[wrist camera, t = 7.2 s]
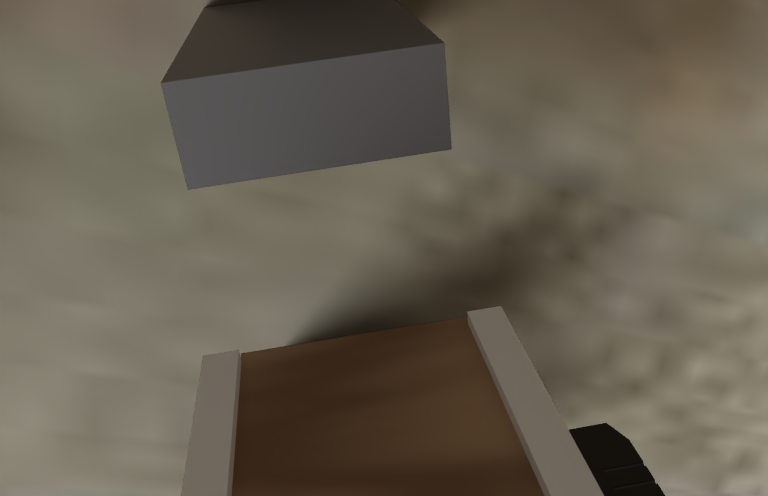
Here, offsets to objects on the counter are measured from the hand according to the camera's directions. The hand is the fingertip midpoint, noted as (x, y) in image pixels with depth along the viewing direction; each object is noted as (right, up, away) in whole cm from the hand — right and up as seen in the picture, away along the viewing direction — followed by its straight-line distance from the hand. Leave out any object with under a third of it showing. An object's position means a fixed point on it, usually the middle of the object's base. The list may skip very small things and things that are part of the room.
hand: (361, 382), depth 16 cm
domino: (-2, +9, +5) cm, 11 cm away
